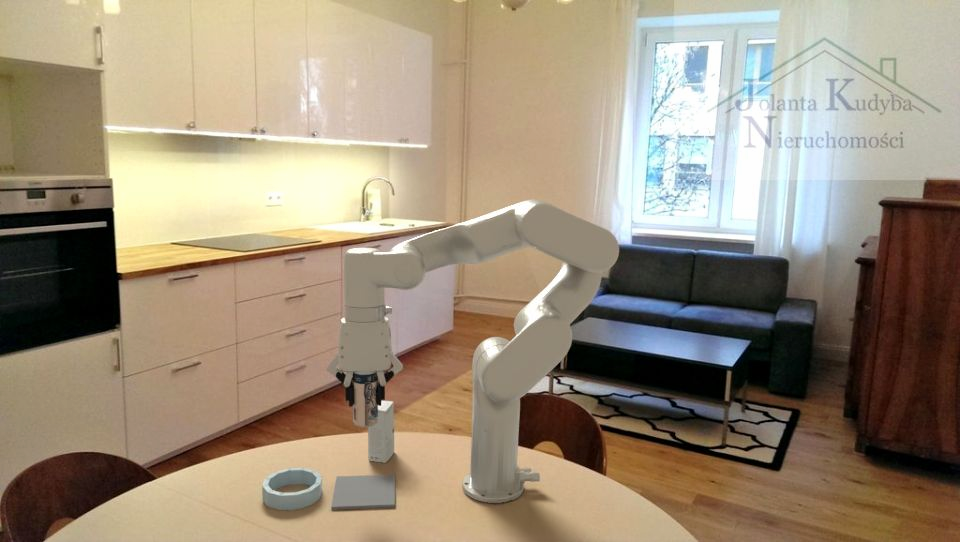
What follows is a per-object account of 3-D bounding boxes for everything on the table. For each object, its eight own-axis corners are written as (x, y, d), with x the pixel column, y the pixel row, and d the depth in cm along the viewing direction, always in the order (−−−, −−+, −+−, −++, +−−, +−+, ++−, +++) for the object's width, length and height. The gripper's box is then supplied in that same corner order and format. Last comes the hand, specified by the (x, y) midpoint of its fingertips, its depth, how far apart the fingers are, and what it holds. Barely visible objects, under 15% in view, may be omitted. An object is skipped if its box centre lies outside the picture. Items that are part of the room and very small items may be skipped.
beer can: (372, 430, 127) (372, 370, 125) (349, 427, 128) (348, 368, 126) (381, 420, 132) (381, 362, 130) (358, 417, 133) (358, 360, 131)
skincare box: (386, 463, 145) (386, 411, 143) (366, 461, 146) (367, 409, 144) (395, 451, 151) (395, 401, 149) (376, 449, 152) (376, 399, 150)
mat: (394, 477, 139) (394, 474, 139) (394, 507, 127) (394, 504, 127) (336, 479, 138) (336, 476, 137) (331, 509, 126) (331, 506, 126)
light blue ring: (324, 480, 137) (324, 467, 136) (318, 508, 126) (318, 494, 125) (269, 482, 135) (268, 468, 135) (258, 511, 125) (257, 496, 124)
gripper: (409, 308, 131) (408, 395, 134) (321, 308, 128) (323, 397, 132) (409, 317, 123) (409, 409, 127) (316, 318, 121) (318, 412, 124)
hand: (365, 402), depth 129 cm, fingers closed on beer can, 4 cm apart
